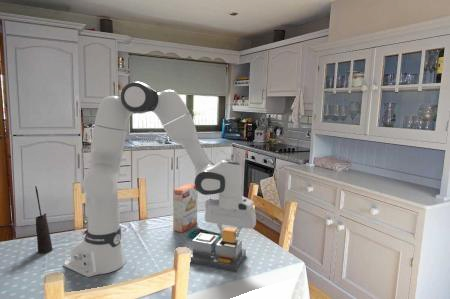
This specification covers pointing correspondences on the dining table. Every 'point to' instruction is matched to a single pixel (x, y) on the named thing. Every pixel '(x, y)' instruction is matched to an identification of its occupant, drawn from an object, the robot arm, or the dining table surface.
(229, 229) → the orange cube
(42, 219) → the butter churn
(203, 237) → the breaker
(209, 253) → the twin switch block
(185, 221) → the cracker box
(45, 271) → the dining table surface
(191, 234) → the digital multimeter
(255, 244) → the dining table surface
